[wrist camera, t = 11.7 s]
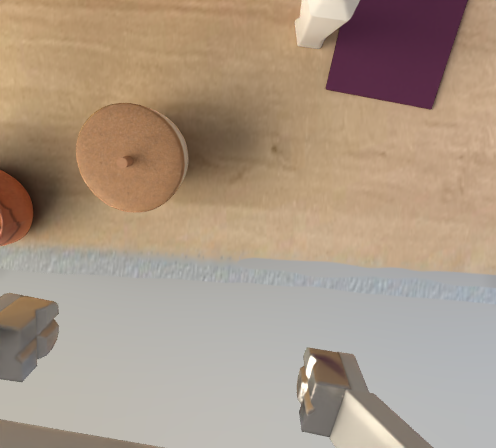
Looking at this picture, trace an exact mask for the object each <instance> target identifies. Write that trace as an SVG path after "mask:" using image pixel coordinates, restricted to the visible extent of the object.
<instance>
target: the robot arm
mask: <svg viewBox="0 0 496 448" xmlns="http://www.w3.org/2000/svg"><path fill="white" fill-rule="evenodd" d="M58 314H59V310H58V305H57V303H56V302H54V301H49V300H44V299H39V298H34V297H29V296H23V295H18V294H13V293H7V294H4V295H3V296H1V297H0V379H3V380H10V381H17V382H23V381H24V379H25V378H26V377H27V376H28V375H29V374H30V373H31V372H32V371H33V370H34V369H35V367H36V366H37V359H39V358H42V357H44V356H46V355H47V354H48V353H49V352H50V350H52V348H53V346H54V344H55V342H56V340H57V337H58V333H59V325H58V324H57V322H56V321H55V320H54V318H55V317H56V316H57V315H58ZM303 359H304V366H303V367H302V368H300V371H299V375H298V381H297V398H298V401H299V402H300V403H301V407H300V411H299V414H300V422H301V430H302V432H308V433H312V434H317V435H322V436H327V437H330V440H331V441H332V443H333V444H334V446H335V447H336V448H433V447H432V446H431V445H430V444H429V443H428V442H426V441H425V440H424V439H423V438H422V437H421V436H420V435H419V434H418V433H417V432H415V431H414V430H413V429H412V428H411V427H410V426H409V425H408V424H407V423H406V422H405V421H403V420H402V419H401V418H400V417H399V416H398V415H397V414H396V413H395V412H394V411H392V410H391V409H390V408H389V407H388V406H387V405H386V404H385V403H384V402H383V401H381V400H380V399H379V398H378V397H377V396H376V395H375V394H373V393H369V391H368V388H367V386H366V383H365V381H364V378H363V376H362V373H361V371H360V368H359V366H358V363H357V361H356V358H355V356H354V355H353V354H348V353H341V352H332V351H326V350H320V349H314V348H307V349H306V350H305V353H304V356H303ZM0 448H163V447H157V446H151V445H146V444H140V443H134V442H128V441H123V440H117V439H111V438H104V437H99V436H93V435H88V434H82V433H76V432H70V431H64V430H59V429H53V428H47V427H41V426H36V425H30V424H24V423H18V422H13V421H7V420H1V419H0Z"/></svg>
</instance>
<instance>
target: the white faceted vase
mask: <svg viewBox="0 0 496 448" xmlns="http://www.w3.org/2000/svg"><path fill="white" fill-rule="evenodd" d="M359 1H360V0H302V3H301V11H300V17H299V18H297V19H296V20H295V30H296V38H297V45H298V46H301V47H308V48H315V49H320V48H321V47H322V45H323V43H324V40H325V38H326V37H328V36H329V35H330V34H332V33H333V32H334V31H336V30H337V29H338V28H339V27H341V26H342V25H343V24H345V23H346V22H347V21H349V20H350V19H351V17H352V15H353V13H354V11H355V9H356V7H357V5H358V3H359Z"/></svg>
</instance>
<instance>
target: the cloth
mask: <svg viewBox="0 0 496 448" xmlns="http://www.w3.org/2000/svg"><path fill="white" fill-rule="evenodd" d="M467 1H468V0H360V1H359V3H358V5H357V7H356V9H355V11H354V13H353V15H352V17H351V19H350V20H349V21H347V22H346V23H345V24H343V25H342V26H341V27H340V30H339V34H338V38H337V42H336V47H335V51H334V55H333V59H332V64H331V68H330V72H329V76H328V81H327V85H326V89H327V90H332V91H337V92H342V93H348V94H353V95H358V96H363V97H368V98H374V99H379V100H384V101H389V102H395V103H400V104H405V105H410V106H416V107H421V108H426V109H432V106H433V103H434V100H435V97H436V94H437V91H438V88H439V85H440V82H441V79H442V76H443V73H444V70H445V67H446V64H447V61H448V58H449V55H450V52H451V49H452V46H453V43H454V40H455V37H456V34H457V31H458V28H459V25H460V22H461V19H462V16H463V13H464V10H465V7H466V4H467Z"/></svg>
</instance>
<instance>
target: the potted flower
mask: <svg viewBox="0 0 496 448" xmlns="http://www.w3.org/2000/svg"><path fill="white" fill-rule="evenodd" d="M32 219H33V205H32V202H31V199H30V196H29V194H28V193H27V191H26V190H25V188H24V187H23V186H22V185H21V184H20V183H19V182H18V181H17V180H16V179H14V178H13V177H12V176H10V175H9V174H7V173H5V172H3V171H1V170H0V246H3V245H7V244H10V243H14V242H16V241H18V240H20V239H21V238H23V237H24V236H25V235H26V234H27V232H28V231H29V229H30V227H31V224H32Z"/></svg>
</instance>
